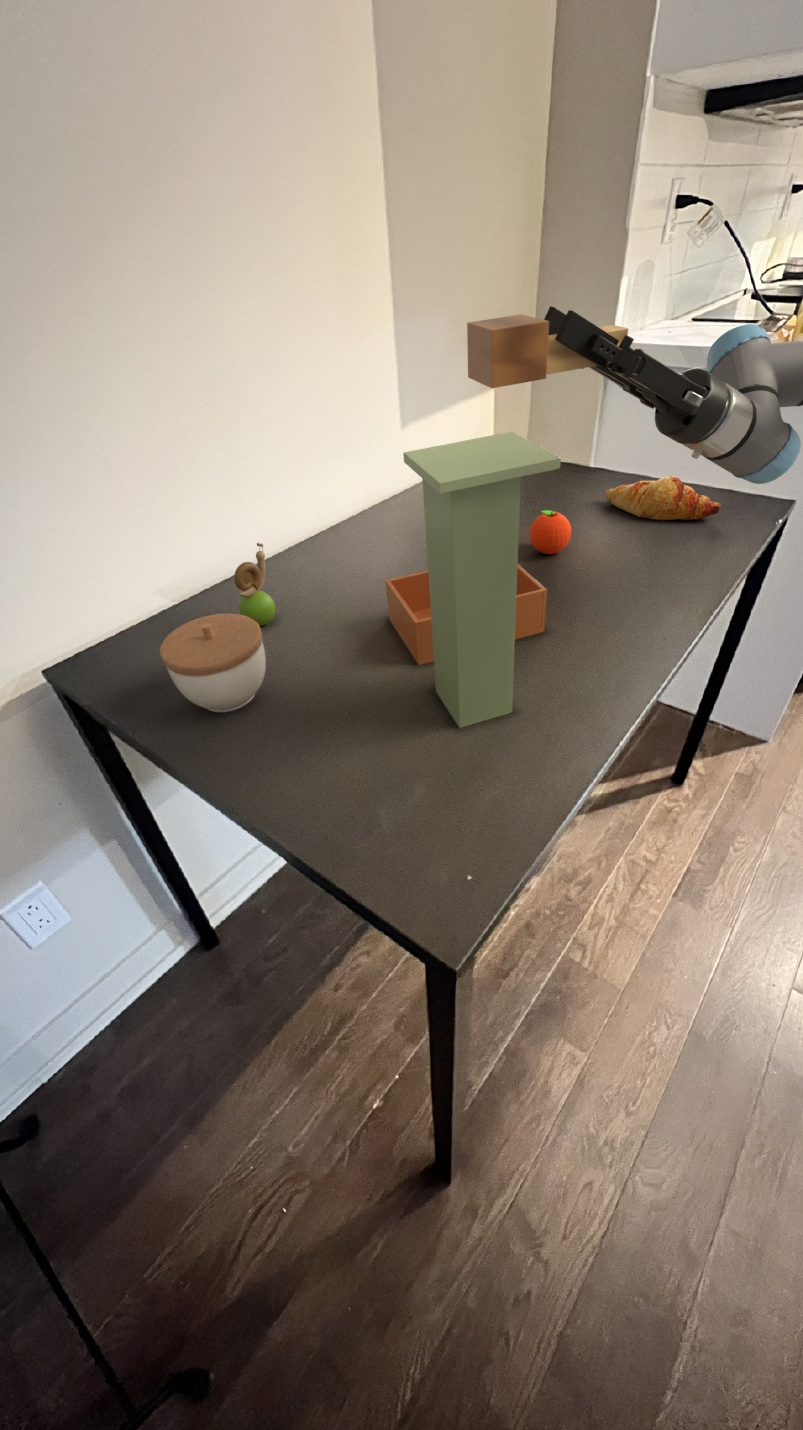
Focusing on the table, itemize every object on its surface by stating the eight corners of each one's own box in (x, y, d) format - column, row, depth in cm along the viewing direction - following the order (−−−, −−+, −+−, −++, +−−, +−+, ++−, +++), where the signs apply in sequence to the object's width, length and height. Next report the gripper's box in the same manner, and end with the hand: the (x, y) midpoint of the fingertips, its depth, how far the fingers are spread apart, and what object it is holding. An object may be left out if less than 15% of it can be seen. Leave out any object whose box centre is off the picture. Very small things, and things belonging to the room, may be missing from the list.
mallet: (601, 354, 69) (606, 300, 66) (632, 363, 65) (640, 306, 62) (467, 377, 66) (466, 322, 63) (491, 388, 62) (491, 329, 59)
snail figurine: (290, 616, 99) (273, 545, 91) (260, 636, 95) (241, 563, 88) (266, 608, 102) (248, 539, 94) (237, 627, 98) (216, 556, 90)
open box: (503, 591, 99) (504, 552, 95) (544, 632, 89) (547, 589, 85) (389, 620, 96) (385, 580, 91) (418, 665, 86) (415, 622, 81)
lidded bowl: (284, 708, 81) (265, 636, 74) (186, 737, 78) (156, 665, 71) (266, 659, 90) (247, 591, 83) (178, 683, 87) (151, 614, 80)
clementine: (517, 547, 111) (519, 508, 106) (550, 537, 113) (553, 499, 108) (543, 564, 105) (546, 524, 101) (577, 554, 107) (582, 513, 103)
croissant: (596, 524, 123) (592, 495, 117) (617, 485, 126) (613, 455, 119) (709, 542, 112) (711, 512, 106) (729, 499, 115) (732, 467, 108)
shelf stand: (505, 667, 84) (512, 431, 65) (542, 710, 76) (561, 457, 57) (422, 690, 81) (403, 452, 62) (450, 736, 74) (439, 482, 55)
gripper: (728, 463, 70) (576, 376, 58) (642, 428, 82) (502, 350, 71) (773, 394, 66) (621, 287, 55) (676, 368, 78) (535, 276, 67)
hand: (554, 323), depth 63 cm, fingers closed on mallet, 3 cm apart
